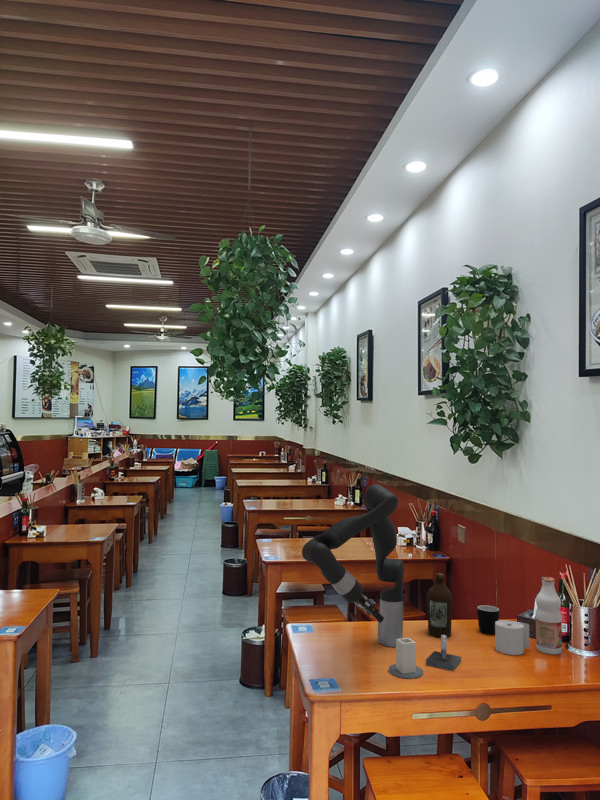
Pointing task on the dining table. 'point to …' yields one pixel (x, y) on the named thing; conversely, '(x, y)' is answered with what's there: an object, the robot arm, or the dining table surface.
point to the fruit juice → (548, 619)
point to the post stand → (443, 657)
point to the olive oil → (439, 608)
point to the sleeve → (406, 655)
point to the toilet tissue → (511, 637)
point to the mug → (487, 618)
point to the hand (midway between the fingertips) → (376, 616)
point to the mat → (406, 675)
